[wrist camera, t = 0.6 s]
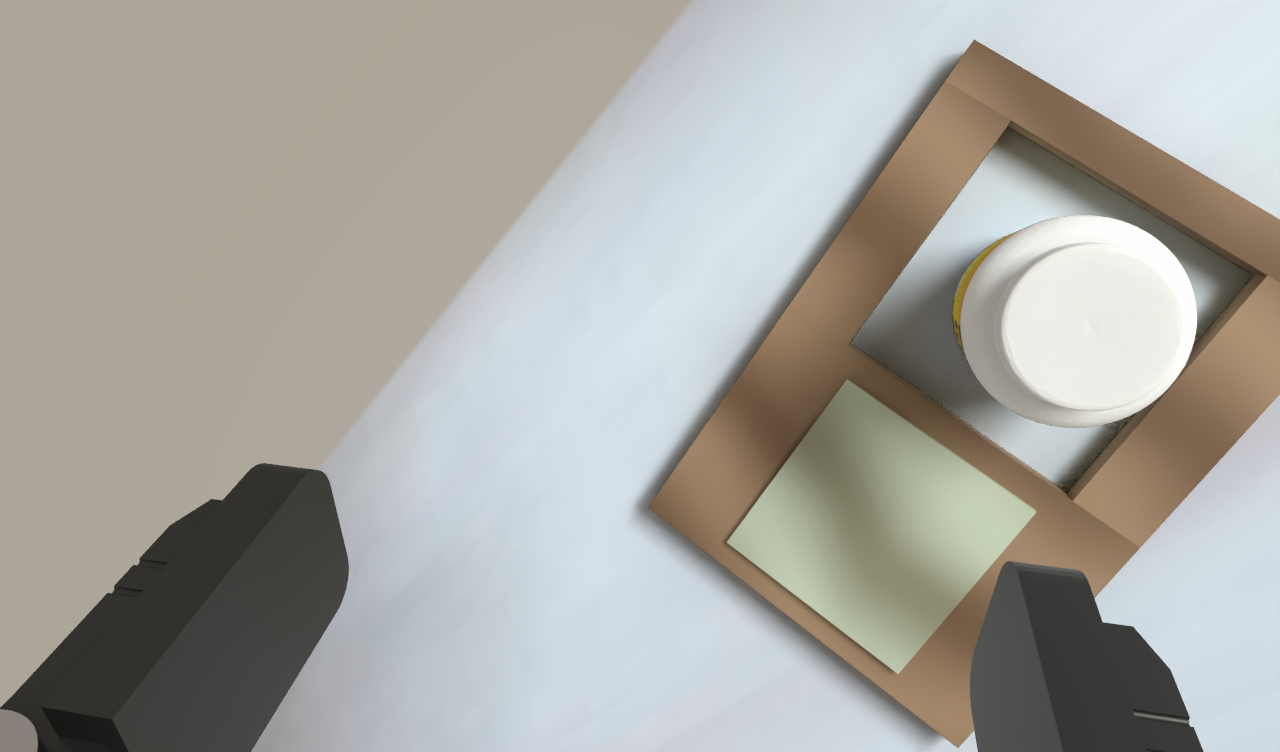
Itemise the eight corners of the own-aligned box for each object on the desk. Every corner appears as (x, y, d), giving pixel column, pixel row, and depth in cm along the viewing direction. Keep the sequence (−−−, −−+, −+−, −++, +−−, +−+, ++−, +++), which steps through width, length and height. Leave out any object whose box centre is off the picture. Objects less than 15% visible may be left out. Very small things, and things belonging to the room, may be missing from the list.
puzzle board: (972, 48, 30) (974, 36, 28) (1363, 280, 27) (1387, 280, 25) (657, 499, 35) (645, 509, 33) (956, 731, 32) (958, 752, 31)
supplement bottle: (916, 314, 31) (912, 330, 21) (1038, 194, 29) (1093, 154, 20) (1036, 425, 30) (1089, 494, 21) (1168, 308, 29) (1292, 324, 19)
